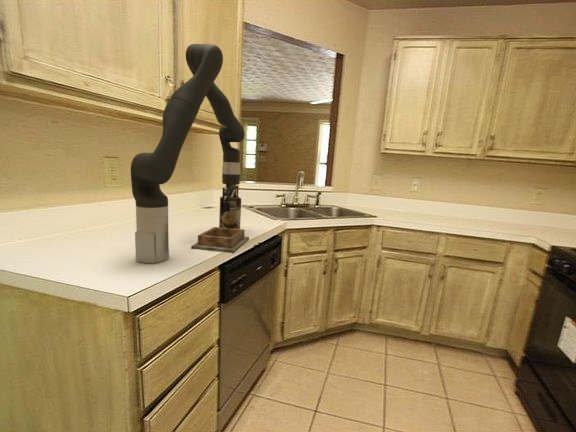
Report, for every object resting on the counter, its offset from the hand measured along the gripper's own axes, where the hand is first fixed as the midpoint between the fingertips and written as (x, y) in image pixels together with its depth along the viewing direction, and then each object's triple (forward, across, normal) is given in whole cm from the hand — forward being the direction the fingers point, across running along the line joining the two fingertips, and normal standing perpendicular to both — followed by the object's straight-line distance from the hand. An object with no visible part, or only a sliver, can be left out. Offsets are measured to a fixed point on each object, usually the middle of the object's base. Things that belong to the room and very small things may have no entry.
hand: (230, 210), depth 135 cm
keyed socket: (+10, -17, -3) cm, 20 cm away
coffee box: (+11, 0, 0) cm, 11 cm away
